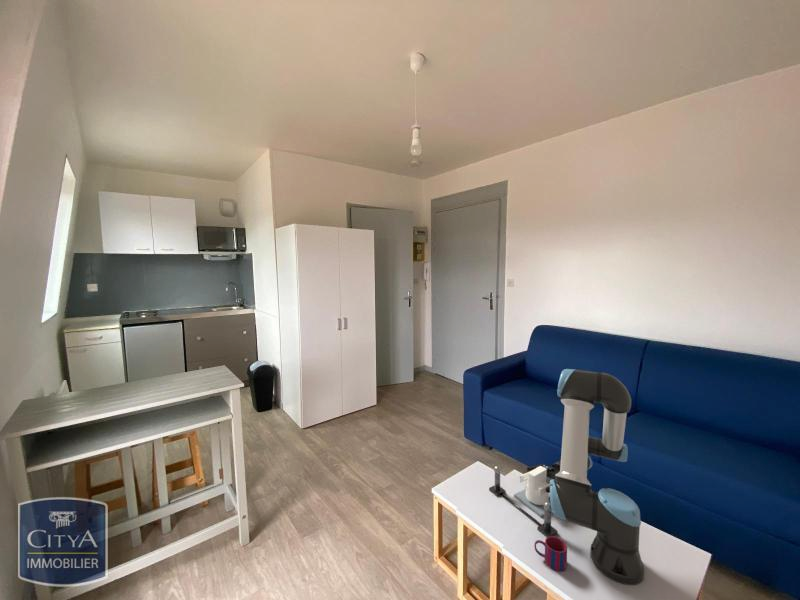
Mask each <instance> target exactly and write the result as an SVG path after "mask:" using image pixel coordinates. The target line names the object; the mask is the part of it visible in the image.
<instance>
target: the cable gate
mask: <svg viewBox="0 0 800 600" xmlns="http://www.w3.org/2000/svg"><path fill="white" fill-rule="evenodd" d="M493 473H494V485H492V486H489V488H488V491H490V493H492V494H493V495H495V497H497V498H498V497H500V496H501V497H503V499H505V500H507V501H508V503H510V504H511V505H513V506H514V507H515V509H516V508H517V510H519V511H521V512H522V514H523V515H525V516H526V517H527V518H529V519H530V520H532V522H534V523H535V524H536V525H537V529H536V530H537V531H538V532H539V533H540V534H542V535H543V536H544V537H546V538H547V537H550V536H554V537H556V536H557V535H558V529H556V528H554V527H553V526H552V512H551V511H552V509H551V503H550V502H548V501H547V502H545V503H544V505H543V506H544V516H543V520H544V521H543V523H540V521H538V520H537V519H536V518H534V517H533V516H532V515H531V514H530V513H528V512H527V511H525V510H524V509H523V508H522V507H520V506H519V505H518V504H517V503H516V502H514V501H513V500H512V499H511V498H509V497H508V496H507V495H505V494H506V490H505V489H504V488H503V487H502V486H501V473H502V468H501V467H500V466H499V465H496V466H494V468H493Z"/></svg>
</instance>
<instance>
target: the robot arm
mask: <svg viewBox="0 0 800 600" xmlns="http://www.w3.org/2000/svg"><path fill="white" fill-rule="evenodd" d="M556 392H557V393H556V394H557V397H559V398H560V402H561V403H562V405H563V406H564V411H563V412H564V413H563V424H562V425H563V426H562V440H561V451H560V452H561V454H560V455H561V456H560V460H559V461H556V462H554V463H553V464H552V466H547V465H546V463H544V462H542V463H541V464H537V465H531V466H526V471H525V472H524V473H522V474H520V475H519V482H520V483H523V482H526V480H527V479H528V472H530V471H532V470H534V469H536V468H537V467H539V466H542V467H544V468H546V469H547V475H546V478H551V479H550V481H549V483H547V485H545V486H543V487H541V488H539V495H540V496H541V495H543V494H545V493H549V497H550V501H551V509H552V512H551V514H552V515H553V516H555V517H556V518H557V519H561V520H562V521H565V522H569V523H571V524H574V525H578V526H580V527H583V528H587V529H588V530H589V529H590V530H592V531H596V535H595V537H594V539H593V541H592V543H591V545H590V551H589V552H590V553H589V555H590V560H591V563H593V564H594V566H595V568H596V569H597V570H598V571H600V572H601V573H602V574H603V575H605V576H606V577H607V578H610V579H611V580H612V581H615V582H618V583H620V584H623V585H630V586H631V585H639V584H641V583H642V582H643V581H644V579H645V566H644V565H645V564H644V562H643V560H642V558H641V552H640V550H639V549H640V528H641V524H642V521H641V520H642V519H641V511H640V508H639V506H638V504H637V503H636V502H635V500H633V499H632V498H630V497H629V496H628V495H626V494H625V493H623V492H622V491H619V490H616V489H614V488H609V487H606V488H605V487H604V488H603V487H602V488H601V489H599V491H597V492H596V491H593V490H592V484H591V483H590V481H589V479H588V478H587V477H588V471H589V470H590V469H591V468H593V465H594V464H593V463H594V462H593V460H592V458H591V456H590V455H593V456H596V457H601V458H605V459H608V460H612V461H615V462H622V463H625V462H627V461H628V450H629V449H628V445H627V444H625V443H624V438H625V429H626V423H627V421H626V420H627V413H629V412H630V410H631V408H632V398H631V395H630V392H629V390H628V388H627V387H626V385H624V384H623V383H622V381H621V380H619V379H618V378H617V377H615V376H614V375H611V374H609V373H606V372H597V371H596V372H595V371H589V370H581V369H576V368H575V369H571V368H565V369H563V370H561V373H560V375H559V380H558V384H557V389H556ZM595 403H597V404H601V405H602V407H603V408H604V409H603V421H602V422H603V423H602V424H603V425H602V426H603V427H602V438H599V437H593V436H590V434H589V431H590V430H589V428H590V427H589V426H590V411H591V410H592V409H594V408H595Z"/></svg>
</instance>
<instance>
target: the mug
mask: <svg viewBox="0 0 800 600" xmlns="http://www.w3.org/2000/svg"><path fill="white" fill-rule="evenodd" d="M537 544H541V545H543V546H544V553H542V552H541V551H539V550H538V549H537ZM534 551H535V552H536V554H537V555H539V556H541V557H542V558H544V562H545V564H546V566H547V567H548V568H549V569H552V570H553V571H555V572H565V570H567V568H568V567H567V566H568V545H567V543H566V542H565V541H564V539H561V538H559V537H557V536H550V537H546V538H545V541H543V540H540V539H536V540H535V542H534Z"/></svg>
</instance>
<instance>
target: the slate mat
mask: <svg viewBox="0 0 800 600" xmlns="http://www.w3.org/2000/svg"><path fill="white" fill-rule="evenodd" d="M513 497H514V498H515V499H517V501H519V502H520V503H521V504H523V505H524V506H525V507H527V508H528V509H529V510H530V511H532V512H533V513H535V515H537V516H538V517H540V518H544V506H543V505H537V504H534V503H532V502H530V501H529V500H528V499H527V498H526V488H525V489H522V490H521V491H519V492H517V493H514V494H513ZM548 502H550V503H551V501H550V496H549V497H548ZM551 513H552V511H551Z"/></svg>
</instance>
